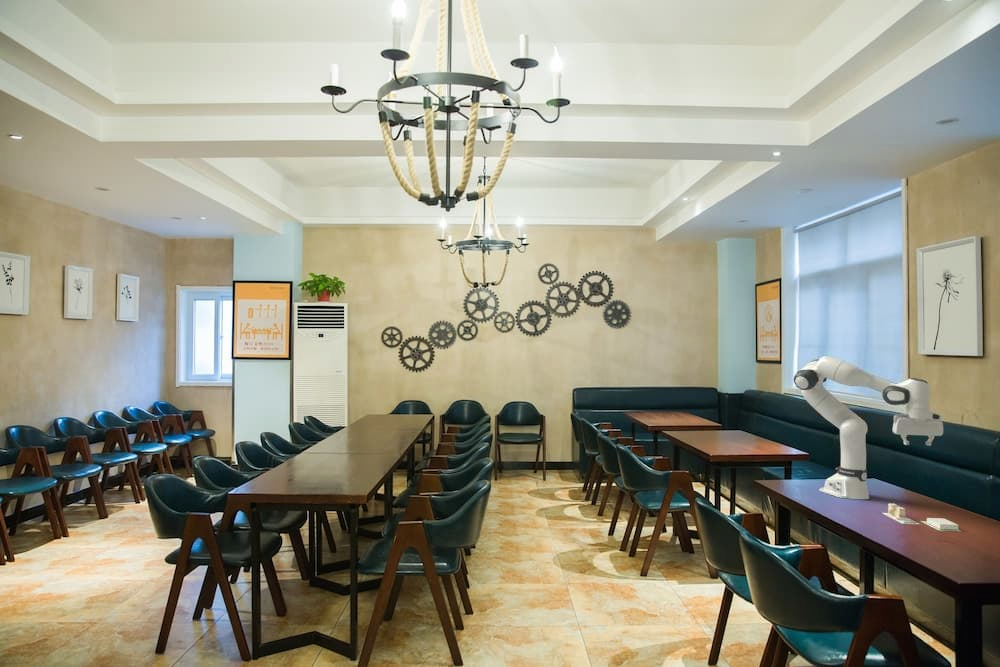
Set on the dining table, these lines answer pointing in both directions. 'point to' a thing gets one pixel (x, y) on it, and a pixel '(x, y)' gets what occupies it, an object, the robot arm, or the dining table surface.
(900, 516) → the turner
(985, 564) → the dining table surface
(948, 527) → the tile
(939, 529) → the mat
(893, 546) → the dining table surface
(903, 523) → the pad
